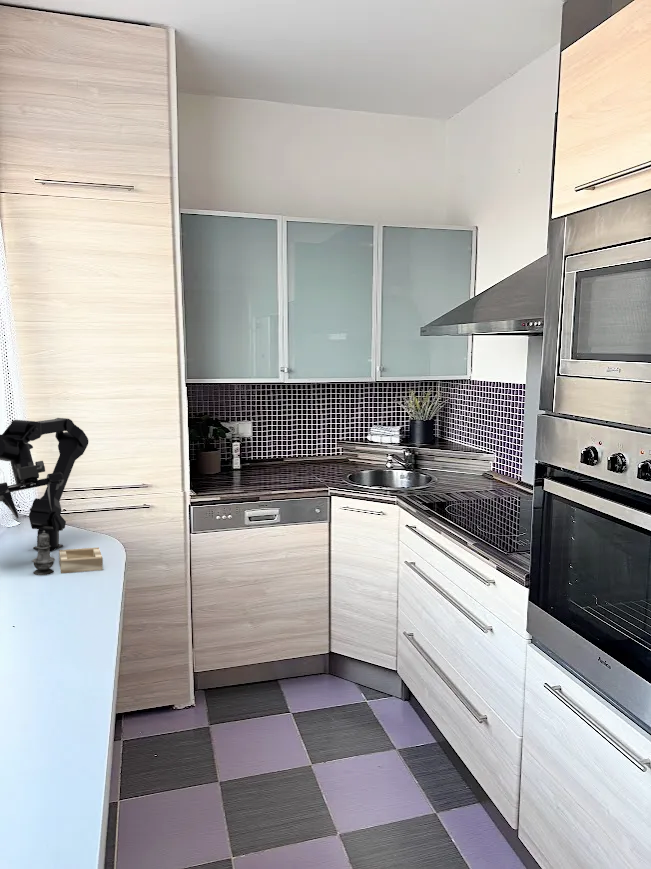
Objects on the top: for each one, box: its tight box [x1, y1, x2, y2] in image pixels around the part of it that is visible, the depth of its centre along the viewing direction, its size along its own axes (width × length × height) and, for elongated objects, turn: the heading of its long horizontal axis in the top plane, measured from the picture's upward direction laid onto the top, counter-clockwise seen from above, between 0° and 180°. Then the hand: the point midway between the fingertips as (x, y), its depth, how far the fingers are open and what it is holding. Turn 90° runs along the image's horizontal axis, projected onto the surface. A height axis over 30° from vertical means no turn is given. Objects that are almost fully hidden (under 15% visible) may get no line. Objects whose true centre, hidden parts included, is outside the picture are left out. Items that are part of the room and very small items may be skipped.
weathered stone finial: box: [31, 531, 56, 576], centre depth 183 cm, size 6×6×12 cm
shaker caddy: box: [58, 547, 104, 574], centre depth 190 cm, size 11×11×4 cm
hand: (35, 513), depth 185 cm, fingers open, 9 cm apart
